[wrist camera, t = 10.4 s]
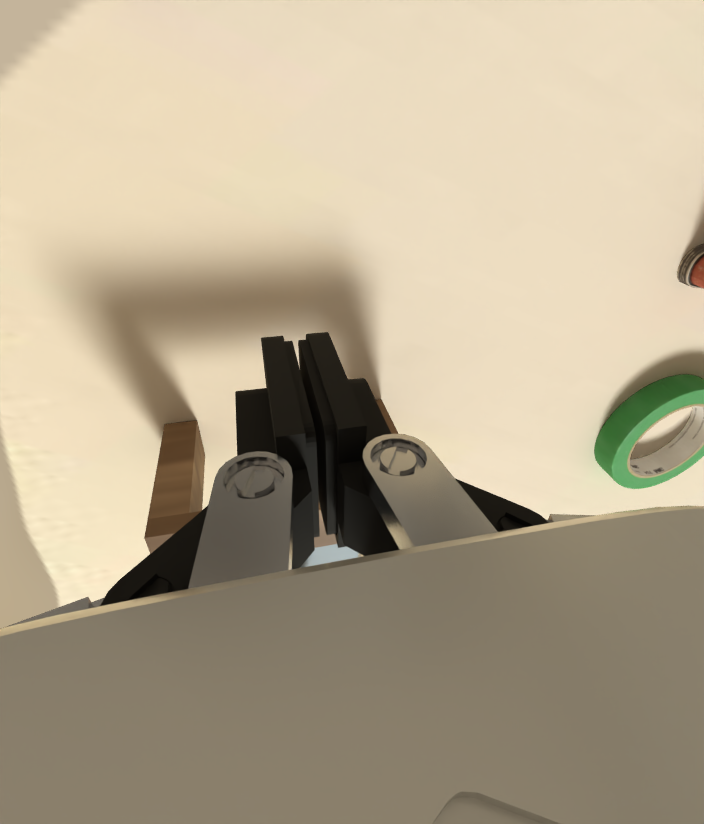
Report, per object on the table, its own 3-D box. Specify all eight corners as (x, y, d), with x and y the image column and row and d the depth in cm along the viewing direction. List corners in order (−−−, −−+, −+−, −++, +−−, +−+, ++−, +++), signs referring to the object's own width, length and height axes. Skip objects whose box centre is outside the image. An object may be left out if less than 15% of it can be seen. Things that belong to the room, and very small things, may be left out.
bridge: (164, 424, 29) (144, 538, 22) (381, 399, 32) (427, 493, 24) (174, 458, 31) (159, 575, 23) (379, 432, 33) (421, 529, 26)
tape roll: (726, 402, 41) (753, 419, 39) (630, 482, 45) (650, 502, 43) (672, 351, 36) (700, 367, 34) (569, 448, 40) (588, 468, 38)
